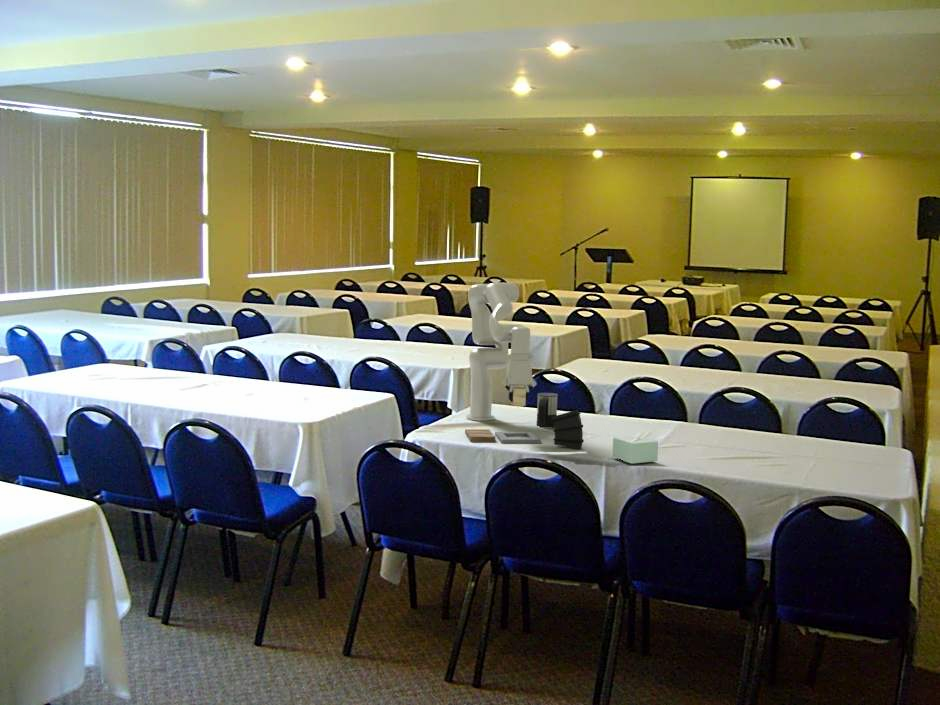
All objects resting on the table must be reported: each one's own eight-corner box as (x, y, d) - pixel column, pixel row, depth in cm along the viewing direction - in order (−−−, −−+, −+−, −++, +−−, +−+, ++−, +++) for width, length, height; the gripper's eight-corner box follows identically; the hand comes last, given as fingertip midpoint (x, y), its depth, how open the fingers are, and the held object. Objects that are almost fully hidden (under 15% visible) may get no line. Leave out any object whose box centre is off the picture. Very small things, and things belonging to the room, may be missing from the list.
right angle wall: (657, 461, 382) (658, 441, 381) (631, 463, 376) (632, 443, 375) (637, 454, 392) (638, 435, 391) (612, 457, 387) (613, 437, 386)
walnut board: (465, 434, 422) (465, 429, 422) (488, 434, 423) (488, 429, 423) (470, 441, 406) (470, 436, 406) (495, 441, 408) (495, 436, 407)
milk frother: (535, 425, 447) (536, 391, 445) (571, 426, 446) (572, 393, 445) (536, 431, 433) (537, 396, 431) (573, 432, 432) (574, 398, 431)
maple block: (510, 403, 415) (511, 386, 414) (522, 403, 416) (523, 386, 415) (513, 405, 410) (513, 388, 409) (525, 405, 411) (526, 388, 410)
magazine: (587, 447, 395) (576, 410, 395) (557, 455, 400) (546, 418, 401) (590, 445, 398) (579, 409, 399) (560, 453, 404) (549, 417, 404)
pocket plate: (494, 435, 421) (494, 431, 421) (532, 435, 423) (532, 431, 423) (501, 443, 405) (501, 439, 405) (540, 443, 407) (540, 439, 407)
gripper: (538, 356, 415) (536, 400, 418) (497, 355, 413) (496, 399, 415) (542, 358, 408) (540, 403, 410) (500, 358, 405) (499, 403, 408)
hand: (518, 401), depth 413 cm, fingers closed on maple block, 5 cm apart
